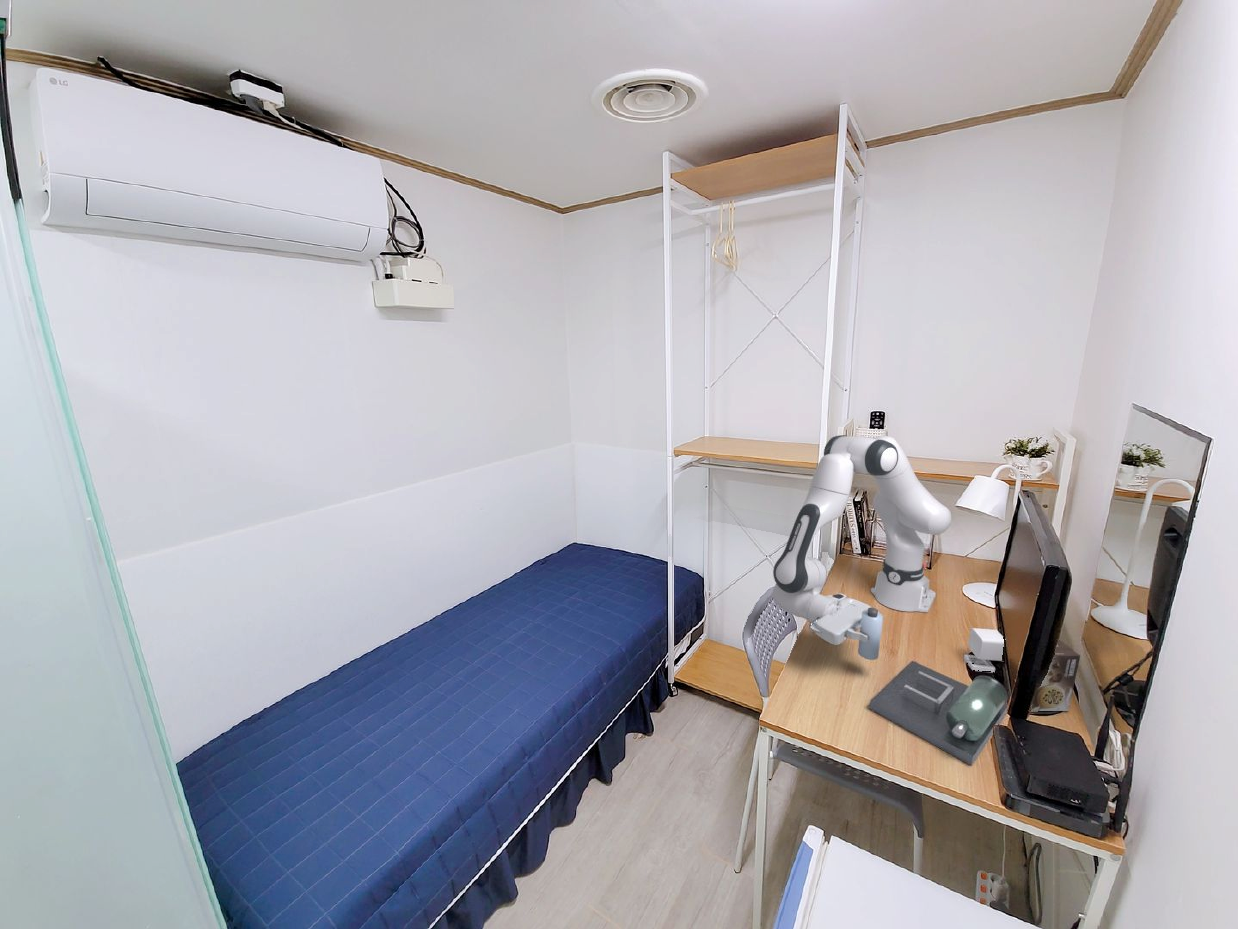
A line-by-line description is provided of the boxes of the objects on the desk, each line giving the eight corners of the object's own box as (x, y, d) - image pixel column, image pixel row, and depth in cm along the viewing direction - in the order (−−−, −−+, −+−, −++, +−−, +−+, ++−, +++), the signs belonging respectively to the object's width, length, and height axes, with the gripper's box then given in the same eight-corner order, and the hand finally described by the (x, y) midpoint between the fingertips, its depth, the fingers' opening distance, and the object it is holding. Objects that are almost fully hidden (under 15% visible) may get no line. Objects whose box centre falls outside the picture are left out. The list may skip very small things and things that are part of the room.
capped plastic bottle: (863, 645, 138) (867, 603, 134) (881, 654, 134) (886, 610, 131) (854, 653, 135) (858, 609, 131) (873, 662, 131) (878, 617, 128)
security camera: (1002, 674, 134) (1008, 642, 132) (973, 671, 136) (978, 639, 133) (990, 659, 140) (995, 628, 138) (962, 657, 142) (967, 626, 139)
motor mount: (911, 668, 138) (915, 638, 135) (1007, 713, 121) (1014, 679, 118) (869, 709, 124) (873, 676, 121) (971, 766, 107) (978, 729, 104)
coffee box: (1048, 694, 127) (1060, 639, 123) (1068, 713, 120) (1082, 655, 116) (1011, 694, 127) (1022, 639, 123) (1030, 712, 121) (1042, 655, 117)
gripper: (805, 616, 136) (855, 639, 125) (844, 591, 148) (892, 609, 137) (804, 636, 137) (853, 660, 127) (842, 609, 150) (889, 629, 139)
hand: (873, 634), depth 132 cm, fingers closed on capped plastic bottle, 5 cm apart
